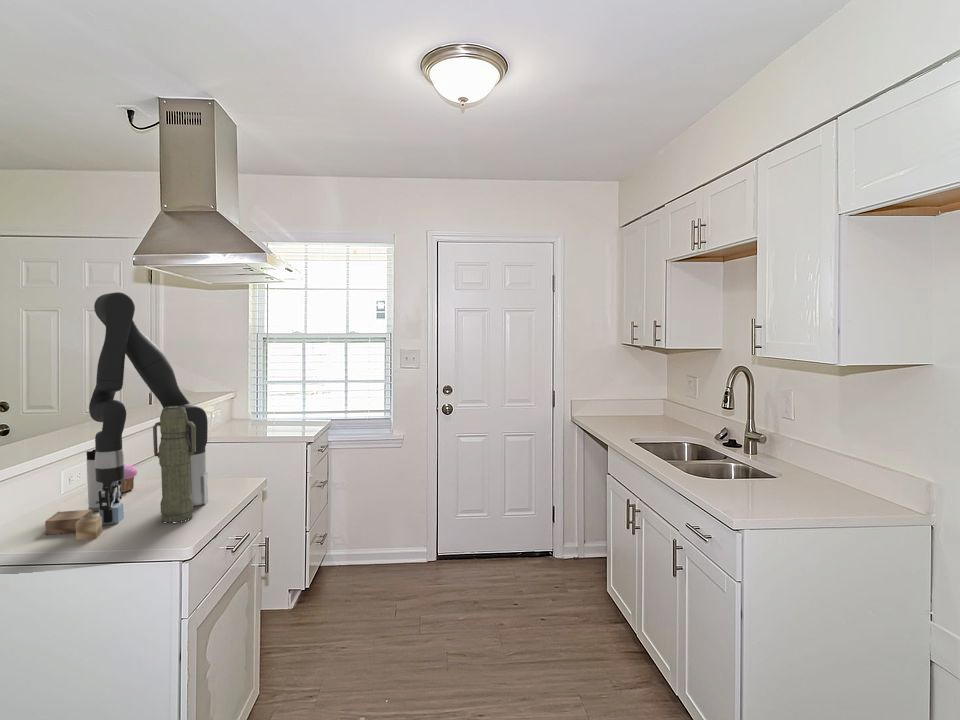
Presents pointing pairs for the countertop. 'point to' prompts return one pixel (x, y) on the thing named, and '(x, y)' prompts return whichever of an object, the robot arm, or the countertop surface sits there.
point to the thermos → (175, 463)
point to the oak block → (88, 527)
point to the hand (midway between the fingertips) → (111, 518)
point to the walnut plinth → (65, 521)
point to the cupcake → (128, 477)
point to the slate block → (114, 513)
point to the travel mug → (92, 482)
